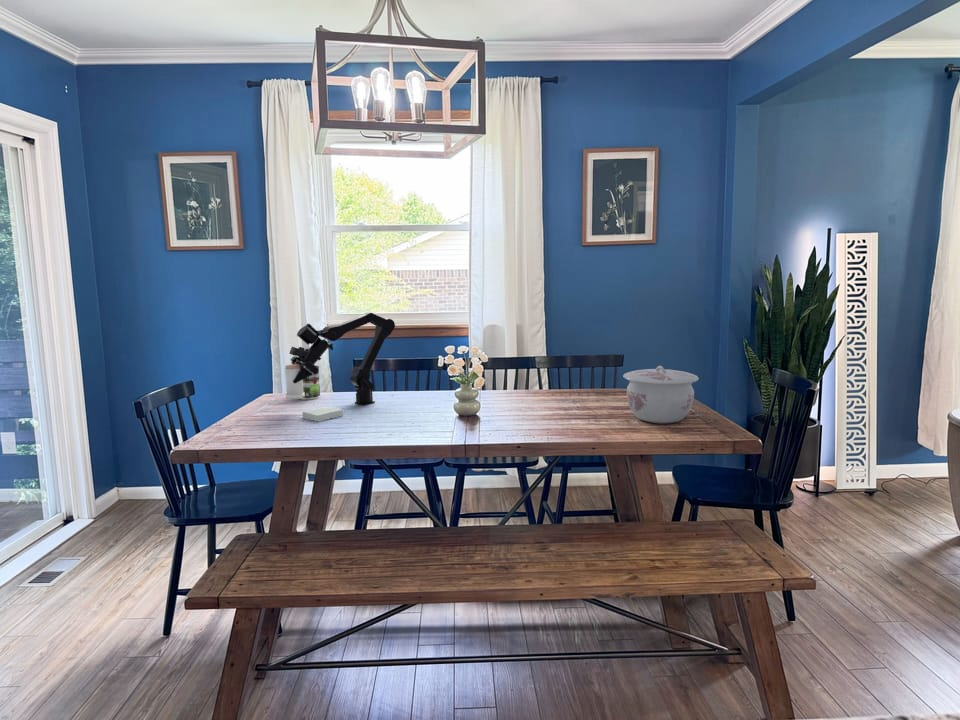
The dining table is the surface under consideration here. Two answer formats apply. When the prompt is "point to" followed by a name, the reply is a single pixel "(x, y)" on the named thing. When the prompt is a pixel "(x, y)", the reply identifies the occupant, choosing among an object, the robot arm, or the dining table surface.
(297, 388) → the cream jar
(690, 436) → the dining table surface
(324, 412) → the sage block
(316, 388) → the coffee can
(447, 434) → the dining table surface
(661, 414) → the chamber pot
